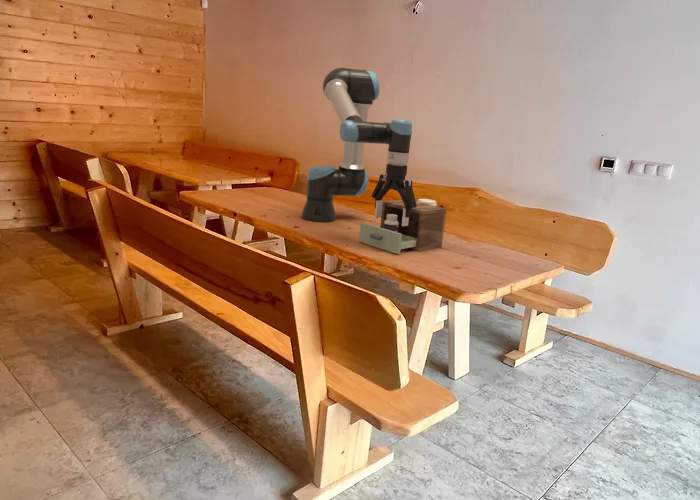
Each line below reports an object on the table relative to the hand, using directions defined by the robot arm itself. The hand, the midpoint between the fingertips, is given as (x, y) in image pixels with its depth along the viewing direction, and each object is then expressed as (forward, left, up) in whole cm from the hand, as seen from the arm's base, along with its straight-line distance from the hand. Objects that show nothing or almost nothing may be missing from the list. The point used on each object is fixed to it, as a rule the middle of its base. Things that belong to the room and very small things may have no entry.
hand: (391, 221), depth 193 cm
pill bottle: (0, 0, -7) cm, 7 cm away
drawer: (0, -1, -9) cm, 9 cm away
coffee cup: (-5, +26, -10) cm, 28 cm away
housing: (0, +12, -9) cm, 15 cm away
